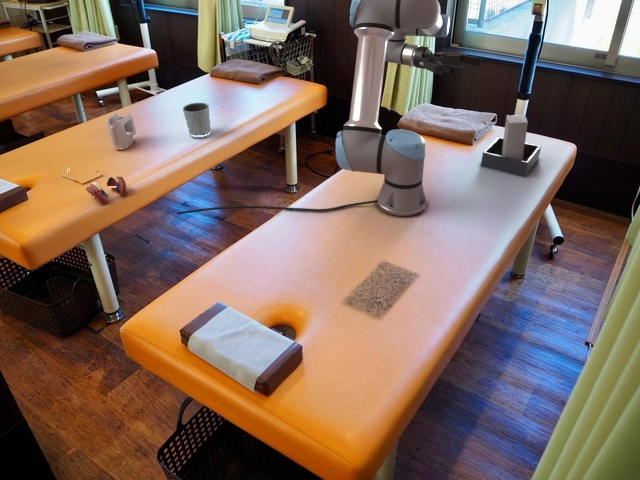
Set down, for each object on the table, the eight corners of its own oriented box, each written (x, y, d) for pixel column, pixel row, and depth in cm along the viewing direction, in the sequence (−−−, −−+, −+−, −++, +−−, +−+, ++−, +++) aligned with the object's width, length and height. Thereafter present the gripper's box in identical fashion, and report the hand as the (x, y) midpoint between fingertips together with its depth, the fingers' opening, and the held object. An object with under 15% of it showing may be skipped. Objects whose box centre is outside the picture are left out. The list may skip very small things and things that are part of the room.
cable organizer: (139, 139, 216) (132, 111, 209) (124, 152, 206) (116, 123, 199) (124, 138, 217) (117, 110, 210) (108, 151, 207) (100, 122, 200)
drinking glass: (217, 133, 219) (213, 105, 212) (200, 142, 212) (196, 113, 205) (199, 128, 224) (195, 100, 217) (182, 137, 217) (177, 108, 210)
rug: (343, 302, 130) (343, 299, 130) (383, 262, 143) (383, 259, 143) (378, 317, 126) (378, 314, 125) (416, 274, 139) (416, 271, 138)
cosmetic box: (521, 166, 186) (530, 123, 177) (500, 165, 187) (508, 122, 178) (519, 156, 193) (527, 114, 184) (498, 154, 194) (506, 113, 185)
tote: (524, 176, 182) (528, 162, 179) (480, 166, 189) (482, 152, 186) (538, 159, 192) (541, 146, 189) (495, 150, 200) (498, 136, 196)
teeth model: (126, 176, 175) (92, 190, 168) (131, 193, 179) (97, 207, 172) (114, 169, 180) (80, 182, 174) (119, 186, 184) (86, 199, 177)
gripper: (434, 59, 203) (486, 69, 191) (397, 75, 188) (451, 87, 176) (436, 38, 199) (489, 47, 187) (399, 53, 183) (454, 64, 172)
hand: (471, 66), depth 181 cm, fingers open, 13 cm apart
